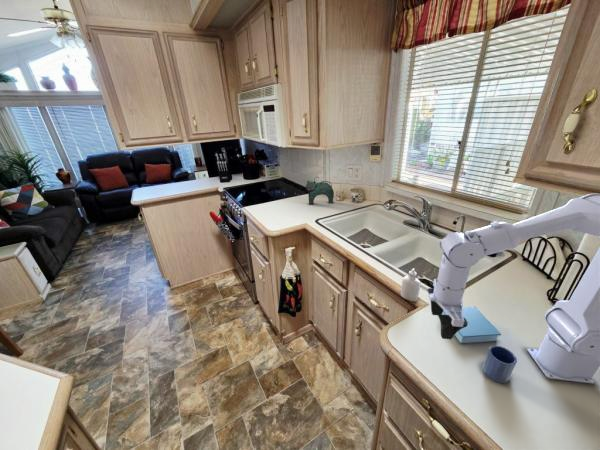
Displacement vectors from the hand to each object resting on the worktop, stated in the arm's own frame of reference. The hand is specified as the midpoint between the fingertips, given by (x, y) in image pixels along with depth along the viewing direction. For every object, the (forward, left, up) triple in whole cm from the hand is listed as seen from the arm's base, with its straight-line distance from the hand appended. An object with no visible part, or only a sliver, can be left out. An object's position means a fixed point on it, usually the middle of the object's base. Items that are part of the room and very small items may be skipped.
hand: (440, 325), depth 63 cm
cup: (-13, +4, -10) cm, 17 cm away
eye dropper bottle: (+2, -22, -10) cm, 24 cm away
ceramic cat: (+44, -120, -10) cm, 128 cm away
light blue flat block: (-12, -10, -10) cm, 19 cm away
